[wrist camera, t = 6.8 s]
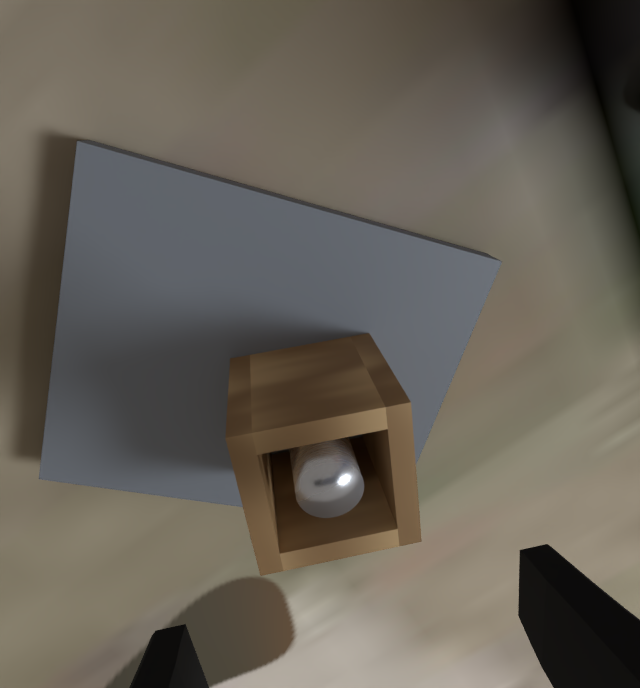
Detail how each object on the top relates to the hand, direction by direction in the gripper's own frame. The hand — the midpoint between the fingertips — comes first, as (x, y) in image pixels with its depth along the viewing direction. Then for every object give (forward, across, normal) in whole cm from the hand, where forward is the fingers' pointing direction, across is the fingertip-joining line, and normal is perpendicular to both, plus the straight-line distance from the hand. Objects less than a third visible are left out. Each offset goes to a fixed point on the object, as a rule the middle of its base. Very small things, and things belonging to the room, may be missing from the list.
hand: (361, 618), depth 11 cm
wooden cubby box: (+9, 0, 0) cm, 9 cm away
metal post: (+10, 0, 0) cm, 10 cm away
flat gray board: (+10, +1, -2) cm, 10 cm away
